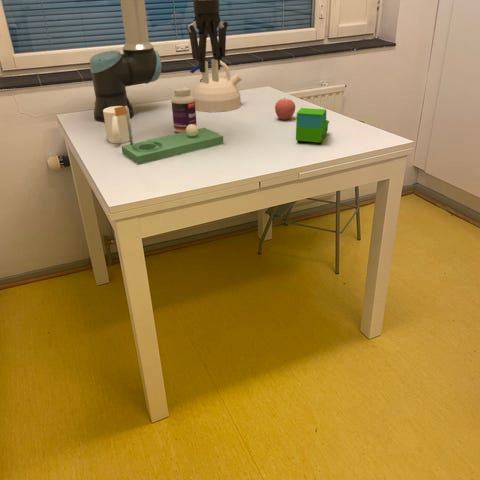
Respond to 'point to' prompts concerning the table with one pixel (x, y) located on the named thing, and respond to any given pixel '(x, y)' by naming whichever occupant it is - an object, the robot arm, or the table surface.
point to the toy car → (311, 125)
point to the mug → (116, 126)
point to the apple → (285, 108)
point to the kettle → (217, 93)
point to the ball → (191, 130)
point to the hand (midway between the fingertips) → (210, 81)
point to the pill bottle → (183, 109)
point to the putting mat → (170, 145)
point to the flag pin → (124, 111)
